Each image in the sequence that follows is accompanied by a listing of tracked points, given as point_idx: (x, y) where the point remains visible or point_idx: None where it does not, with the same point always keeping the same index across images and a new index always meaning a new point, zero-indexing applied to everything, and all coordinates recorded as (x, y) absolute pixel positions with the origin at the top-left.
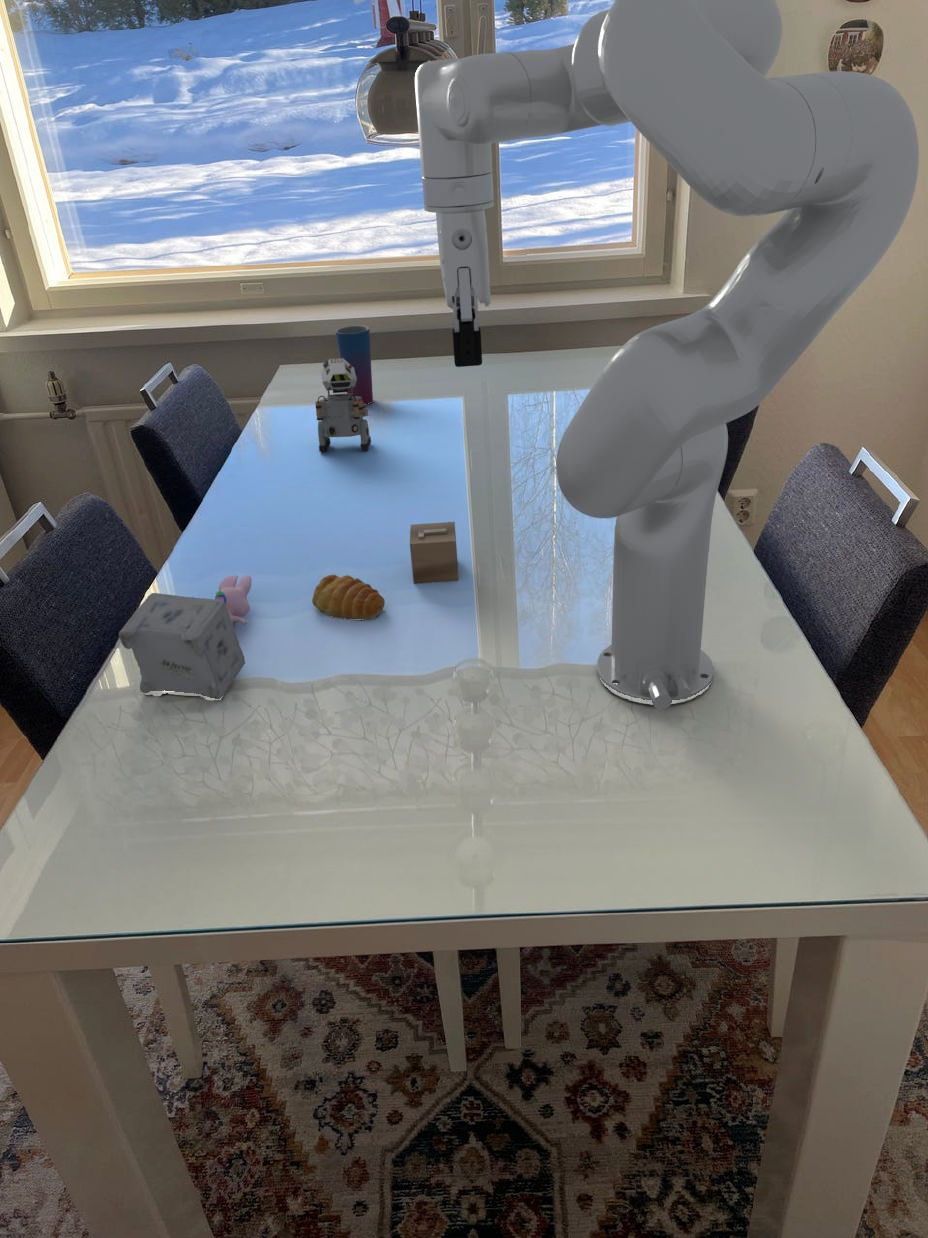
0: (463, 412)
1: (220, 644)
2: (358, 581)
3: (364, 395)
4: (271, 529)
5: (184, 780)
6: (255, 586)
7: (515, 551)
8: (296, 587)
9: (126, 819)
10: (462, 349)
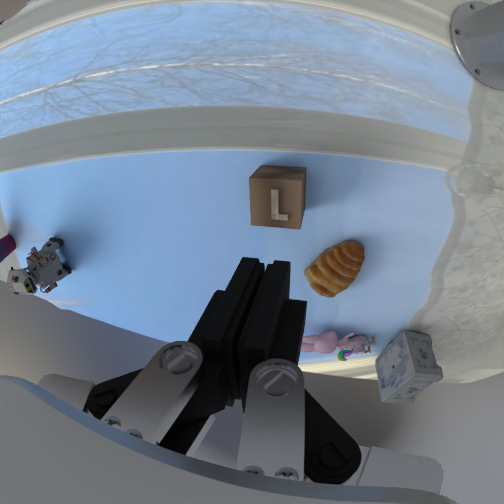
0: (6, 171)
1: (423, 356)
2: (327, 266)
3: (8, 242)
4: (189, 310)
5: (479, 339)
6: None
7: (246, 104)
8: None
9: (488, 353)
10: (299, 353)
